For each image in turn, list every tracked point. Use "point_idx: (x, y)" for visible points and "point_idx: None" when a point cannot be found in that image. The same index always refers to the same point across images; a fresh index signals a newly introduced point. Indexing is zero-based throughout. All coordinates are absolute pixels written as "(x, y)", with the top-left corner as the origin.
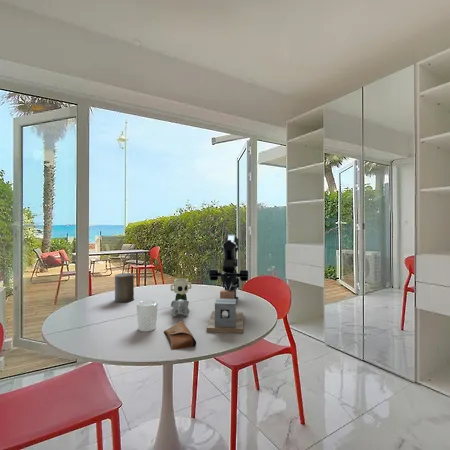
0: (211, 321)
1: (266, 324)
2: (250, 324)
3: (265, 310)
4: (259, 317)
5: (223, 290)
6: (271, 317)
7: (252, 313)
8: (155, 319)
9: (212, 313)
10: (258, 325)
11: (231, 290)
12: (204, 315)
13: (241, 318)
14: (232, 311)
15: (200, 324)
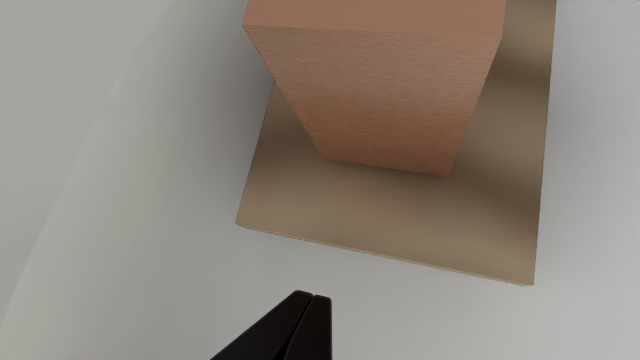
0: (531, 5)
1: (166, 44)
2: None
3: (49, 318)
4: (155, 162)
5: (440, 5)
6: (86, 157)
7: (167, 256)
8: None
9: (529, 196)
10: (213, 29)
11: (289, 12)
12: (608, 255)
13: None
14: None
15: (617, 38)
